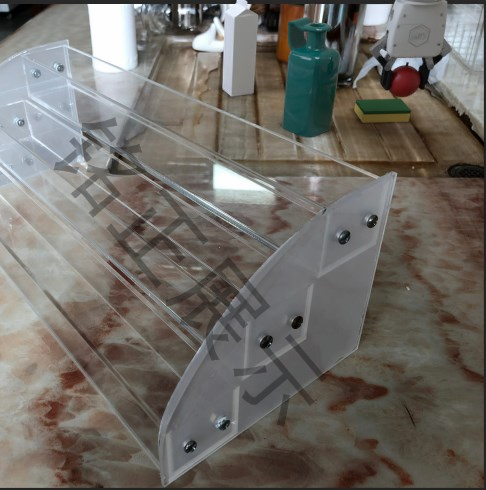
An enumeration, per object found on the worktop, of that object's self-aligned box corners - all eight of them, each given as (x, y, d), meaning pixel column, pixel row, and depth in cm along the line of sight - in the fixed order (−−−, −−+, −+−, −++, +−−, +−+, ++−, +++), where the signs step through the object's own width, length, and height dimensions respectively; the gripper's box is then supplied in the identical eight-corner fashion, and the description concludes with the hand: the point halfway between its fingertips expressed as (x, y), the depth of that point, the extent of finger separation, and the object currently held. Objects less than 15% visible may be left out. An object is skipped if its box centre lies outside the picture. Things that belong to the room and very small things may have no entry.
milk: (231, 98, 145) (234, 3, 132) (222, 90, 150) (224, -3, 137) (254, 95, 146) (259, 0, 134) (244, 87, 151) (248, -6, 138)
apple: (410, 90, 123) (418, 57, 119) (421, 101, 118) (429, 67, 114) (380, 91, 123) (386, 57, 119) (389, 102, 118) (396, 67, 114)
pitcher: (334, 129, 127) (349, 23, 115) (308, 140, 123) (321, 31, 111) (299, 116, 134) (310, 14, 122) (273, 127, 130) (281, 22, 117)
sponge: (398, 111, 135) (400, 98, 133) (408, 123, 129) (411, 110, 128) (353, 112, 135) (355, 99, 134) (362, 124, 130) (364, 111, 128)
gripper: (380, -2, 106) (364, 95, 116) (478, -5, 106) (453, 93, 116) (369, -11, 112) (354, 82, 123) (461, -13, 112) (438, 80, 122)
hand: (402, 87), depth 119 cm, fingers closed on apple, 6 cm apart
